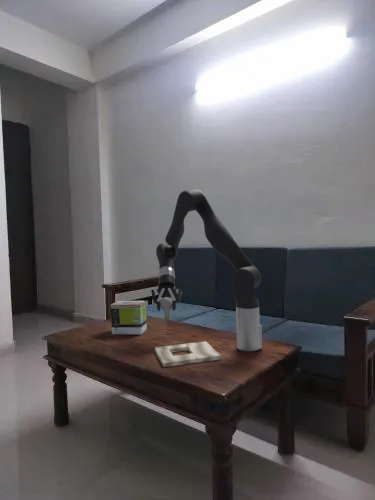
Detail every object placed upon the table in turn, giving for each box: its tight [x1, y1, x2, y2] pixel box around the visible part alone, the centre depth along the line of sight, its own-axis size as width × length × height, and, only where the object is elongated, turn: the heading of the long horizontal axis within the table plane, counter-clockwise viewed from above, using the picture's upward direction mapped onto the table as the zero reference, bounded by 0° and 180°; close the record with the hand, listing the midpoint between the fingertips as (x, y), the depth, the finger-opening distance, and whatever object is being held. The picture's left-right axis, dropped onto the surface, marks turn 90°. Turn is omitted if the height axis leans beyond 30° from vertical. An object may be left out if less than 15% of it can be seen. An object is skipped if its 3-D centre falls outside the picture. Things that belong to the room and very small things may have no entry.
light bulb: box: [160, 297, 173, 321], centre depth 155 cm, size 5×5×10 cm
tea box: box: [109, 300, 148, 335], centre depth 175 cm, size 15×10×15 cm, turn 80°
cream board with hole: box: [154, 341, 222, 368], centre depth 141 cm, size 22×18×2 cm
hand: (166, 310), depth 153 cm, fingers closed on light bulb, 5 cm apart
